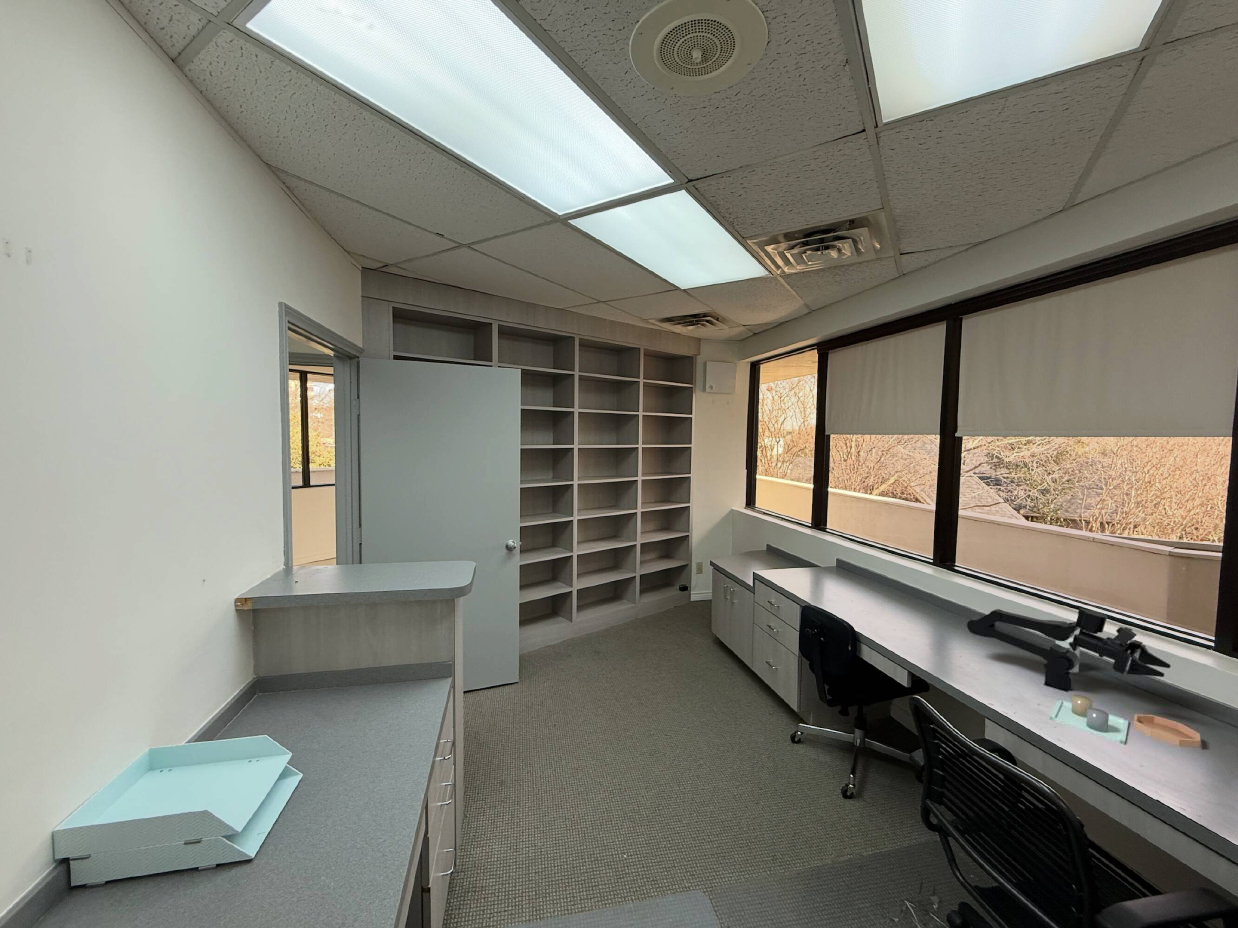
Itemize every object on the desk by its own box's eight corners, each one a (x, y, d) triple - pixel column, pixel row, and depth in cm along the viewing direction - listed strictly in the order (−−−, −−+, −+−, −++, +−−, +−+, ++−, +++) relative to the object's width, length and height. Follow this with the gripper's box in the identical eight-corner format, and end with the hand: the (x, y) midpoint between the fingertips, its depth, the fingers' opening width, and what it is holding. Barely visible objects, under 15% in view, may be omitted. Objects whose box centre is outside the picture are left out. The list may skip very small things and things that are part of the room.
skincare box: (1053, 665, 188) (1055, 634, 187) (1064, 665, 187) (1066, 635, 187) (1067, 672, 182) (1069, 641, 181) (1079, 672, 181) (1081, 641, 181)
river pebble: (1070, 713, 152) (1071, 697, 152) (1072, 708, 155) (1073, 693, 155) (1090, 719, 149) (1091, 703, 149) (1092, 714, 152) (1093, 698, 152)
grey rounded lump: (1085, 727, 145) (1086, 710, 144) (1087, 721, 148) (1088, 705, 147) (1107, 734, 141) (1108, 717, 141) (1108, 728, 144) (1109, 712, 144)
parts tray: (1049, 721, 149) (1049, 717, 149) (1058, 702, 160) (1058, 698, 160) (1124, 746, 137) (1124, 742, 136) (1128, 724, 148) (1128, 720, 148)
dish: (1132, 733, 143) (1133, 724, 143) (1134, 717, 151) (1135, 709, 151) (1200, 754, 133) (1200, 745, 133) (1198, 736, 142) (1199, 728, 142)
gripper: (1096, 630, 154) (1168, 655, 142) (1112, 616, 165) (1181, 639, 152) (1087, 661, 157) (1157, 689, 144) (1104, 646, 167) (1170, 670, 154)
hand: (1167, 670), depth 149 cm, fingers open, 9 cm apart
